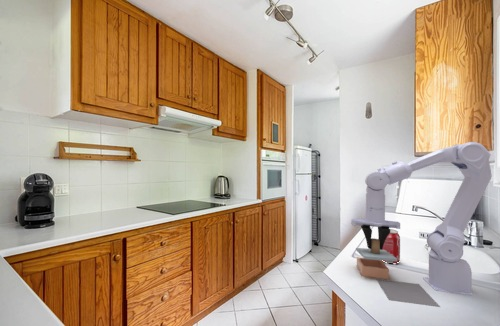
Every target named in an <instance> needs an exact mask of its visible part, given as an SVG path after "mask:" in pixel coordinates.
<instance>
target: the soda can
mask: <svg viewBox="0 0 500 326" xmlns="http://www.w3.org/2000/svg"><path fill="white" fill-rule="evenodd" d="M389 229H390V233H389V235H388V236H387V238H386V240H385V242H384V245H383V249H382V250H386V251H387V252H388V253H390V254H391V255H393V256H394V257H395V258H397V261H385V260H383V261H385V262H387V263H397V262H399V261H400V260H401V236H400V234H399V231H398V230H396V229H394V228H389ZM399 263H400V262H399Z"/></svg>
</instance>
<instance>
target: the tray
mask: <svg viewBox="0 0 500 326" xmlns="http://www.w3.org/2000/svg"><path fill="white" fill-rule="evenodd" d="M356 268H357V270H358V272H359V273H360V275H361V277H367V278H375V279H381V280H390V269H389V267H388V266H387V265H386V263H384V262H383V261H382V260H373V259H364V258H363V257H360V256H359V257H356Z"/></svg>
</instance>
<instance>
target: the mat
mask: <svg viewBox="0 0 500 326" xmlns="http://www.w3.org/2000/svg"><path fill="white" fill-rule="evenodd" d="M375 279H376V281H377V283H378V285H379V287H380V288H381V290H382V292H383V293H384V294H385V296H386V298H387V300H388V301H392V302H401V303H407V304H414V305H422V306H429V307H437V308H441V306H440V305H439V304H438V302H436V300H435V299H434V298H433V297H432V296H431V295H430V294H429V293H428V292H427V290H426V289H424V288H423V287H422V286H421V285H420V283H414V282H413V283H412V282H405V281H397V280H390V279H382V278H375Z"/></svg>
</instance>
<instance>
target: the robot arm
mask: <svg viewBox="0 0 500 326" xmlns="http://www.w3.org/2000/svg"><path fill="white" fill-rule="evenodd" d="M491 155H492V154H491V153H490V152H489V151H488V149H487V148H486V147H485V146H484V145H483V144H482V143H479V142H476V141H469V142H466V143H462V144H453V145H452V146H448V147H444V148H441V149H436V150H434V151H431V152H429V153H427V154H425V155H423V156H420V157H417V158H415V159H414V160H411V161H409V162H404V161H401V160H400V161H396V160H395V161H393V162H392V163H391V164H390V165H388V166H386V167H383V168H381V167H379V168H377V171H373V172H370V173H368V174H367V176H366V177H365V180H364V181H365V184H366V190H365V191H366V194H365V218H351V223H350V224H351V226H355V227H356V226H360V227H361V230H362V231H363V235H364V237H365V240H366V246H367V247H366V248H367V249H371V238H372V235H373V230H372V229H371V228H372V227H375V228H377V234H378V236H377V237H378V238H377V239H379V240H380V250H382V249H383V245H384V242H385V240H386V238H387V236H388V235H389V233H390V229H395V230H396V229H398V230H401V222H399V221H393V220H387V219H386V193H385V189H386V187H387V185H393V184H396V183H398V182H402V181H404V180H406V179H409V178H410V177H411V175H412V174H413V172H415V171H419V170H421V169H424V168H427V167H430V166H433V165H435V164H438V163H451V165H454V166H455V167H456V168H458V170H459V171H460V172H461V174H462V175H463V177H464V178H463V180H462V182H461V185H460V186H459V188H458V190H457V193H455V196H454V198H453V200H452V203H451V204H450V206H449V207H448V210H447V213H446V215H445V217H444V219H443V220H442V223H440V224H438V225H437V226H436V227H435V229H434V230H433V231H432V232H431V233H430V234H428V235H427V237H426V244H427V245H428V247H429V248H430V251H428V277H422V279H423V280H424V281H425V282H426V283H427V284H428V285H429V286H430V287H431V288H432V289H433V290H434V291H437V292H444V293H453V294H460V295H470V296H474V292H472V289H473V288H472V279H473V278H472V276H473V275H472V273H473V272H472V268H471V265H470V264H469V262H468V261H467V260H465V259H463V258H462V257H463V255H464V245H465V242H466V240H465V239H466V238H465V233H464V232H465V230H466V228H467V226H468V224H469V222H470V220H471V219H472V216H473V215H474V213H475V211H476V209H477V207H478V205H479V203H480V201H481V199H482V197H483V194H484V193H485V191H486V189H487V188H488V185H489V183H490V181H491V179H492V170H491V165H490V158H491Z"/></svg>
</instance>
